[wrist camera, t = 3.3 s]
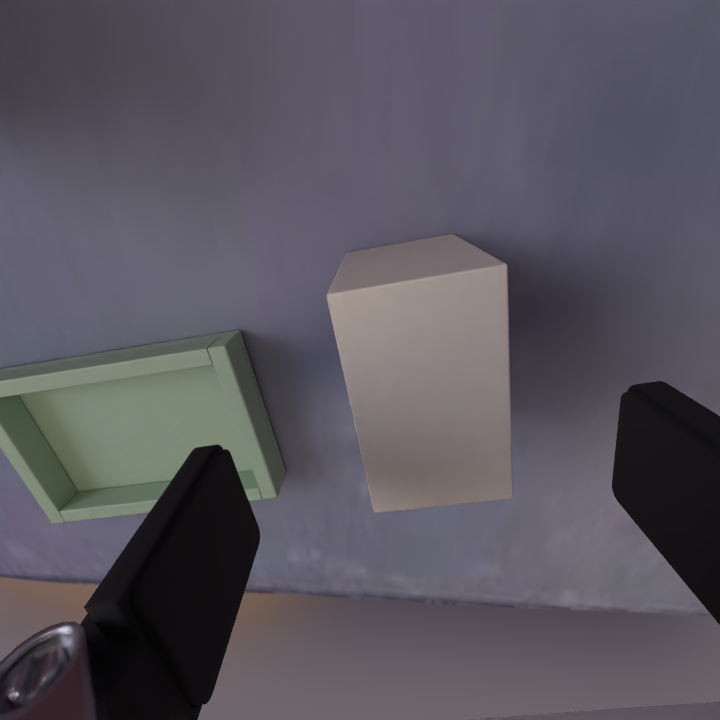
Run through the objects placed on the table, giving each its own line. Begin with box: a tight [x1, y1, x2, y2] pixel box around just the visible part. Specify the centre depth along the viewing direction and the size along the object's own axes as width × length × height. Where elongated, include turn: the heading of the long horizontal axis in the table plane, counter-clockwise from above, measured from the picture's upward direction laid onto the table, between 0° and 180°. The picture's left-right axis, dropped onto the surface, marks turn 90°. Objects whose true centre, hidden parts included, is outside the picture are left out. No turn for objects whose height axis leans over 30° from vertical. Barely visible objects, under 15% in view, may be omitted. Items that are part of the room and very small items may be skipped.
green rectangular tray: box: [0, 330, 286, 524], centre depth 19 cm, size 13×8×2 cm
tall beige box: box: [327, 234, 512, 513], centre depth 14 cm, size 5×8×7 cm, turn 10°
